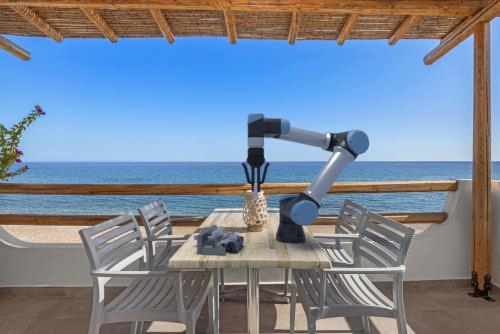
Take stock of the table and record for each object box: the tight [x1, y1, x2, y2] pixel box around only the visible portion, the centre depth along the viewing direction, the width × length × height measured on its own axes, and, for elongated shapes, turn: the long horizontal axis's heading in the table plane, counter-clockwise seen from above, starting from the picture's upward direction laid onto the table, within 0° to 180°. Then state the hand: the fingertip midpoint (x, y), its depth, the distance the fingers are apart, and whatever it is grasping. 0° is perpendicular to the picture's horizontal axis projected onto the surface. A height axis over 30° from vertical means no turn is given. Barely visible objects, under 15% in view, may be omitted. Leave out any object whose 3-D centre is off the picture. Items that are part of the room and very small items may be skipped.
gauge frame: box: [196, 224, 227, 257], centre depth 135 cm, size 12×23×8 cm, turn 170°
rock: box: [220, 231, 245, 253], centre depth 132 cm, size 14×10×10 cm
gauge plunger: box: [193, 226, 225, 247], centre depth 136 cm, size 12×21×8 cm, turn 170°
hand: (255, 199), depth 133 cm, fingers closed
